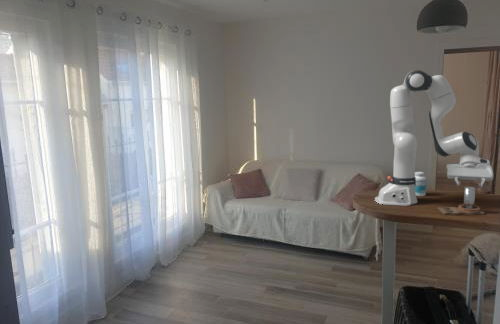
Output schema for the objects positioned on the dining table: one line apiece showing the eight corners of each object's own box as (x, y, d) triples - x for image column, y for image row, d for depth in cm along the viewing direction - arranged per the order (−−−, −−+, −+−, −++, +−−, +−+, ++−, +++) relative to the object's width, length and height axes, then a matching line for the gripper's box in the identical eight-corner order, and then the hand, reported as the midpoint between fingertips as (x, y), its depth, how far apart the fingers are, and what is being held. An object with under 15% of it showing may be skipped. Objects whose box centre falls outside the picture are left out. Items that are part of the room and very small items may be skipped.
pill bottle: (414, 192, 223) (414, 170, 221) (427, 194, 218) (427, 172, 216) (410, 195, 217) (410, 173, 215) (423, 197, 213) (424, 174, 211)
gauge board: (444, 214, 180) (444, 209, 179) (437, 208, 190) (437, 204, 189) (484, 214, 177) (484, 209, 176) (475, 208, 187) (475, 204, 186)
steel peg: (465, 210, 181) (466, 189, 179) (462, 208, 185) (463, 186, 183) (475, 210, 180) (476, 188, 178) (471, 208, 184) (472, 186, 182)
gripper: (446, 159, 193) (446, 181, 186) (493, 160, 184) (494, 184, 177) (446, 166, 198) (445, 187, 191) (491, 168, 188) (492, 191, 181)
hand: (469, 186), depth 183 cm, fingers open, 8 cm apart
